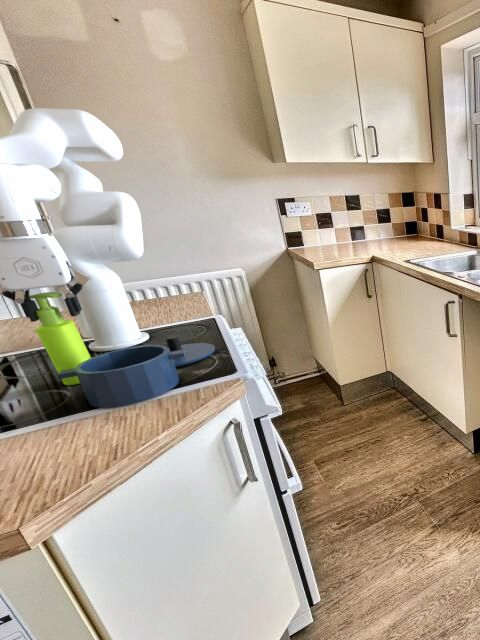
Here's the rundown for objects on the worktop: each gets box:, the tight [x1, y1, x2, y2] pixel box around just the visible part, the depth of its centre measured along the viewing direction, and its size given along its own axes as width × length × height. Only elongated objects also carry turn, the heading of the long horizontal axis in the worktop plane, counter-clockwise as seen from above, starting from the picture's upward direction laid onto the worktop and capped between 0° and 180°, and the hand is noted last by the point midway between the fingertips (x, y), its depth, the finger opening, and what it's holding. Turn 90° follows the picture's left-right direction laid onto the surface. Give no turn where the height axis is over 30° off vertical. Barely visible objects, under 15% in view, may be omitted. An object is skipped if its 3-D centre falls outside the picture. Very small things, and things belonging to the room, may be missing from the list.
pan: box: [57, 344, 186, 409], centre depth 88 cm, size 15×20×8 cm
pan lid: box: [165, 335, 216, 368], centre depth 104 cm, size 16×16×6 cm
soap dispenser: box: [28, 291, 92, 386], centre depth 91 cm, size 6×7×20 cm
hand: (56, 316), depth 90 cm, fingers closed on soap dispenser, 5 cm apart
